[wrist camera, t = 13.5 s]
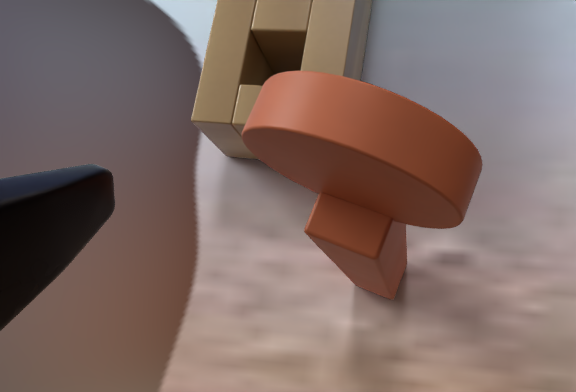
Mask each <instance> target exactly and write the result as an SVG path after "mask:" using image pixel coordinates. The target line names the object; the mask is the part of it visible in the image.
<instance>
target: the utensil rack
mask: <svg viewBox="0 0 576 392" xmlns="http://www.w3.org/2000/svg"><path fill="white" fill-rule="evenodd" d="M371 6H372V0H217V5H216V9H215V14H214V18H213V23H212V27H211V32H210V36H209V41H208V45H207V50H206V55H205V59H204V64H203V68H202V73H201V77H200V82H199V86H198V91H197V95H196V100H195V104H194V109H193V113H192V118H191V121H192V122H193V123H194V124H195V125H196V126H197V127H198V128H199V129H200V130H201V131H202V132H203V133H204V134H205V135H206V136H207V137H208V138H209V139H210V140H211V141H212V142H213V143H214V144H215V145H216V146H217V147H218V148H219V149H220V150H221V151H222V152H223V153H224V154H225V155H226V156H229V157H240V158H250V159H258V158H257V157H256V156H255V155H254V154H253V153H252V152H251V151H250V150H249V149H248V148H247V147H246V146H245V144H244V143H243V140H242V131H243V129H244V126H245V124H246V122H247V120H248V118H249V115H250V113H251V111H252V109H253V106H254V104H255V102H256V100H257V98H258V95H259V93H260V91H261V89H262V87H263V85H264V83H265V81H267V80H268V79H269V78H270V77H271V76H273V75H276V74H278V73H282V72H287V71H314V72H323V73H329V74H334V75H340V76H344V77H348V78H352V79H356V80H359V81H361V75H362V68H363V61H364V54H365V47H366V41H367V34H368V27H369V20H370V13H371Z"/></svg>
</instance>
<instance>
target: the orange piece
mask: <svg viewBox="0 0 576 392" xmlns="http://www.w3.org/2000/svg"><path fill="white" fill-rule="evenodd" d="M242 140H243V143H244V144H245V146H246V147H247V148H248V149H249V150H250V151H251V152H252V153H253V154H254V155H255V156H256V157H257V158H258V159H260V160H261V161H262V162H264V163H265V164H266V165H268V166H269V167H271V168H272V169H274V170H275V171H277V172H278V173H280V174H282V175H283V176H285V177H287V178H289V179H290V180H292V181H294V182H296V183H298V184H300V185H302V186H304V187H306V188H308V189H310V190H312V191H314V192H316V193H318V194H319V195H318V197H317V200H316V202H315V204H314V207H313V209H312V212H311V214H310V216H309V219H308V221H307V224H306V226H305V229H304V232H305V233H306V234H307V235H308V236H309V237H310V238H311V239H312V240H313V241H314V242H315V243H316V244H317V246H318V247H319V248H320V249H321V250H322V251H323V252H324V253H325V254H326V255H327V256H328V257H329V258H330V259H331V260H332V261H333V262H334V263H335V264H336V265H337V266H338V267H339V268H340V269H341V270H342V272H343V273H344V274H345V275H346V276H347V277H348V278H349V279H350V280H351V281H352V282H353V283H354V284H355V285H356V286H359V287H361V288H364V289H366V290H369V291H371V292H373V293H376V294H378V295H381V296H383V297H386V298H388V299H391V300H393V299H394V297H395V294H396V291H397V289H398V286H399V284H400V281H401V278H402V276H403V273H404V270H405V268H406V265H407V246H406V224H408V225H413V226H419V227H425V228H438V229H444V228H453V227H456V226H458V225H460V223H461V222H462V221H463V219H464V217H465V214H466V211H467V208H468V206H469V203H470V200H471V198H472V195H473V192H474V189H475V187H476V184H477V181H478V178H479V176H480V173H481V170H482V159H481V155H480V153H479V151H478V149H477V148H476V147H475V145H474V144H473V143H472V142H471V141H470V140H469V139H468V138H467V137H466V136H465V135H464V134H463V133H462V132H461V131H460V130H459V129H457V128H456V127H455V126H454V125H452V124H451V123H449V122H448V121H446V120H445V119H443V118H442V117H441V116H439V115H437V114H435V113H434V112H432V111H430V110H429V109H427V108H425V107H423V106H421V105H419V104H417V103H415V102H413V101H411V100H409V99H407V98H405V97H403V96H400V95H398V94H396V93H393V92H391V91H388V90H386V89H383V88H380V87H378V86H375V85H372V84H369V83H365V82H362V81H359V80H356V79H352V78H348V77H344V76H340V75H334V74H329V73H323V72H314V71H287V72H282V73H278V74H276V75H273V76H271V77H270V78H269V79H268V80H267V81H265V83H264V85H263V87H262V89H261V91H260V93H259V95H258V98H257V100H256V102H255V104H254V106H253V109H252V111H251V113H250V115H249V118H248V120H247V122H246V124H245V126H244V129H243V131H242Z"/></svg>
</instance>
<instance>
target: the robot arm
mask: <svg viewBox="0 0 576 392" xmlns="http://www.w3.org/2000/svg"><path fill="white" fill-rule="evenodd" d="M114 207H115V199H114V183H113V176H112V173H111V172H110V171H109V170H108V169H105V168H102V167H100V166H97V165H94V164H88V165H81V166H75V167H70V168H63V169H57V170H51V171H44V172H38V173H32V174H26V175H20V176H14V177H8V178H1V179H0V331H1V330H2V329H3V328H4V327H5V326H6V325H7V324H8V323H9V322H10V321H11V320H12V319H14V317H16V315H18V314H19V313H20V312H21V311H22V310H23V309H24V308H25V307H26V306H27V305H28V304H29V303H30V302H31V301H32V300H34V299H35V298H36V297H37V296H38V295H39V294H40V293H41V292H42V291H43V290H44V289H45V288H46V287H47V286H48V285H49V284H50V283H51V282H52V281H53V280H55V279H56V278H57V277H58V276H59V275H60V274H61V272H63V270H65V268H66V267H67V266H68V265H69V264H70V263H71V262H72V261H73V260H74V258H75V257H76V256H77V255H78V254H79V253H80V251H81V250H82V249H83V248H84V247H85V246H86V244H87V243H88V242H89V241H90V240H91V239H92V237H93V236H94V235H95V234H96V233H97V232H98V230H99V229H100V228H101V227H102V226H103V225H104V223H105V222H106V221H107V220H108V219H109V217H110V216H111V215H112V213H113V211H114Z"/></svg>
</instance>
